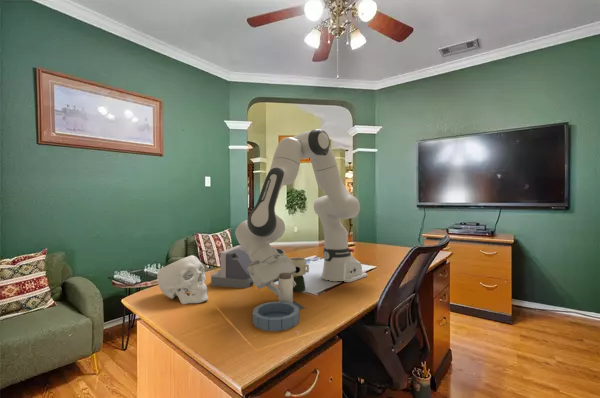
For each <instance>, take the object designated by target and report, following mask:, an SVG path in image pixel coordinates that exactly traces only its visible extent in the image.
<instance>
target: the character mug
mask: <svg viewBox="0 0 600 398" xmlns="http://www.w3.org/2000/svg"><path fill="white" fill-rule="evenodd" d="M288 258H289V259H290V260H291V261H292V263H293V264H294V266H295V267H296V271H295V272H294V273H293V274H292V275H293V278H294V281H295V283H296V286H295V287H293V292H302V291H304V290H305V289H306V283H305V278H304V275H306V273H307V274H308V273H309V272H310V265H309V264H307V258H305V257H304V256H303V257H302V256H294V257H288Z"/></svg>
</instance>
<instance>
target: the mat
mask: <svg viewBox="0 0 600 398" xmlns="http://www.w3.org/2000/svg"><path fill="white" fill-rule="evenodd" d="M293 304H295V305H296V306H298V307H299V311H300V310H303V309H306V306H303V305H302V304H300V303H299V302H296V301H295V300H293Z"/></svg>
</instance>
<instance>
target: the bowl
mask: <svg viewBox="0 0 600 398" xmlns="http://www.w3.org/2000/svg"><path fill="white" fill-rule="evenodd" d="M299 322H300V310H299V307H298V306H296V305H295V304H293V303H289V302H282V301H279V300H278V301H268V302H265V303H261V304H259V305H257V306H255V307H254V308H253V310H252V324H253V325H254V326H255V328H257V329H259V330H262V331H268V332H281V331H286V330H290V329H292V328H294V327H296V326H297V325H298V323H299Z"/></svg>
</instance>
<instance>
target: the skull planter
mask: <svg viewBox="0 0 600 398" xmlns="http://www.w3.org/2000/svg"><path fill="white" fill-rule="evenodd" d="M205 269H206V268H205V266H204V265H203V263H202V262H201V260H200V259H199V258H198V257H197V256H196V255H192V254H191V255H188V256H186V257H183V258H181V259H178V260H177V261H176V260H175V261H174V262H171V263H170V264H167V265H165V266H163V267H161V268H159V269H158V271H157V275H156V276H157V283H158V286H159V289H160V291H161V293H162V294H163V295H164V296H166V297H168V298H169V299H171V300H173V299H174V298H175V297H178V299H179V301H180V303H181V304H182V305H188V304H200V303H203V302H205V301H208V300H209V296H208V293H207V291H208V287H207V284H206V283H205V282H206V280H207V276H206V275H205ZM187 293H189V295H188V294H187Z"/></svg>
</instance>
